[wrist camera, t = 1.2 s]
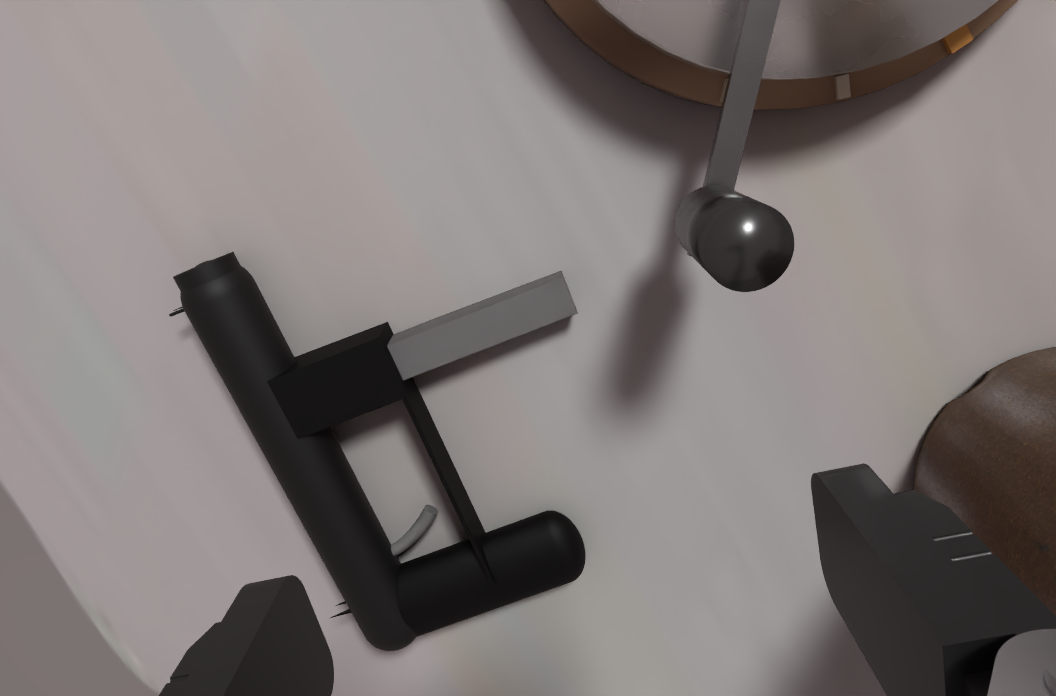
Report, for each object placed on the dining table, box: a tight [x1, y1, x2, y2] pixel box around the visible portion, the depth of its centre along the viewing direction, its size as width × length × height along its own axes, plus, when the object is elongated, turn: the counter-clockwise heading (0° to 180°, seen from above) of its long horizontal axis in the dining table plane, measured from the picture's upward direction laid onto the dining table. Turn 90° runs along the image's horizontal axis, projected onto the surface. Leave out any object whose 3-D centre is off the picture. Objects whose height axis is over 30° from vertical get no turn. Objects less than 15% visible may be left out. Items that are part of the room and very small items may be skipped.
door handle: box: [169, 252, 585, 651], centre depth 32 cm, size 3×20×16 cm
